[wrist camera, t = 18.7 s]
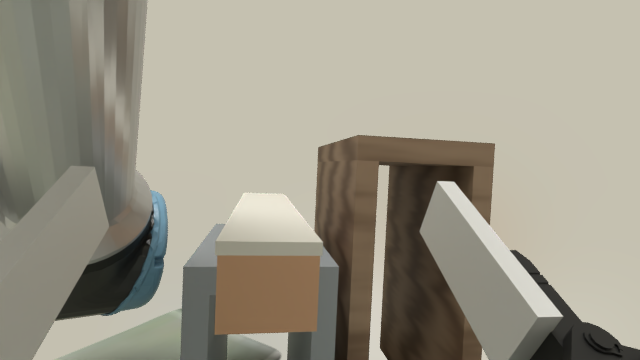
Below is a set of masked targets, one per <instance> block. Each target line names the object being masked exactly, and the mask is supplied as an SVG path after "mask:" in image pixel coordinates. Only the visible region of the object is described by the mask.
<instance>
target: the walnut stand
mask: <svg viewBox="0 0 640 360" xmlns="http://www.w3.org/2000/svg"><path fill="white" fill-rule="evenodd" d="M494 150H495V144H492V143H476V142H460V141H445V140H444V141H443V140H429V139H412V138H396V137H381V136H365V135H357V136H354V137H350V138H347V139H344V140H341V141H337V142H334V143H331V144H328V145H324V146H321V147H319V148H318V168H317V190H316V212H315V233H316V234H317V235H318V237H319V238H320V239H321V240H322V242H323V246H324V248H325V249H326V250H327V252H328V253H329V254H330V256H331V257H332V258H333V260H334V261H335V262H336V264H337V265H338V266H339V274H338V295H337V315H336V336H335V357H334V360H369V340H370V321H371V302H372V283H373V282H372V281H373V263H374V244H375V225H376V206H377V187H378V167H379V165H389V166H390V168H389V186H388V187H389V188H388V205H387V206H388V207H387V224H386V243H385V262H384V281H383V300H382V318H381V320H382V321H381V337H380V349H381V350H382V352H383V353H384V355H385V356H386V358H387V359H388V360H481V355H482V346H481V344H480V342H479V341H478V339H477V337H476V335H475V333H474V331H473V329H472V328H471V326H470V324H469V322H468V320H467V318H466V317H465V315H464V313H463V311H462V309H461V307H460V305H459V304H458V302H457V300H456V298H455V296H454V294H453V293H452V291H451V289H450V287H449V285H448V283H447V281H446V280H445V278H444V276H443V274H442V272H441V270H440V269H439V267H438V265H437V263H436V261H435V259H434V258H433V256H432V254H431V252H430V250H429V248H428V246H427V245H426V243H425V241H424V239H423V237H422V235H421V234H420V232H419V231H420V228H421V226H422V223H423V220H424V217H425V214H426V211H427V209H428V206H429V203H430V200H431V197H432V194H433V191H434V189H435V186H436V183H437V181H449V182H455V183H456V185H457V186H458V187H459V188H460V190H461V191H462V192H463V193H464V195H465V196H466V197H467V198H468V200H469V201H470V202H471V203H472V204H473V206H474V207H475V208H476V209H477V211H478V212H479V213H480V214H481V216H482V217H483V218H484V219H485V220H486V222H487V223H488V224H489V225H490V213H491V198H492V183H493V166H494Z"/></svg>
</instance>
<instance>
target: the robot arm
mask: <svg viewBox="0 0 640 360" xmlns="http://www.w3.org/2000/svg"><path fill="white" fill-rule="evenodd" d="M146 14H147V0H0V360H32V359H33V357H34V355H35V354H36V352H37V350H38V349H39V347H40V345H41V343H42V342H43V340H44V338H45V337H46V335H47V333H48V331H49V330H50V328H51V326H52V324H53V323H54V321H57V320H64V319H72V318H79V317H86V316H93V315H103V316H109V315H113V314H116V313H118V312H120V311H124V310H130V309H135V308H139V307H141V306H143V305H145V304H146V303H148V302H149V301H150V300H151V299H152V297H153V296H154V294H155V292H156V291H157V289H158V286H159V283H160V280H161V277H162V273H163V267H164V261H163V258H164V255H165V254H166V248H167V236H168V234H167V233H168V219H167V209H166V204H165V200H164V198H163V196H162V195H161V194H160V193H158V192H155V191H151V190H150V188H149V186H148V184H147V182H146V181H145V179H144V178H143V176H142V175H141V174H140V173H139V172H138V171H137V170H136V169H135V165H136V152H137V139H138V125H139V111H140V110H139V109H140V96H141V83H142V69H143V55H144V41H145V28H146V27H145V26H146ZM419 232H420V234H421V235H422V237H423V239H424V241H425V243H426V245H427V246H428V248H429V250H430V252H431V254H432V256H433V258H434V259H435V261H436V263H437V265H438V267H439V269H440V270H441V272H442V274H443V276H444V278H445V280H446V281H447V283H448V285H449V287H450V289H451V291H452V293H453V294H454V296H455V298H456V300H457V302H458V304H459V305H460V307H461V309H462V311H463V313H464V315H465V317H466V318H467V320H468V322H469V324H470V326H471V328H472V329H473V331H474V333H475V335H476V337H477V339H478V341H479V342H480V344H481V346H482V348H483V350H484V352H485V353H486V355H487V357H488V359H489V360H640V350H638V349H634V348H631V347H626V346H623V345H621V344H620V343H619V341H618V340H617V339H615V338H614V337H613V336H612V335H610V333H608V332H607V331H605V330H603V329H602V328H600V327H598V326H596V325H593V324H590V323H586V322H582V321H581V320H580V319H579V318H578V317H577V316H576V314H575V313H574V312H573V311H572V310H571V308H570V307H569V306H568V305H567V304H566V303H565V301H564V300H563V299H562V298H561V297H560V296H559V294H558V293H557V292H556V291H555V290H554V289H553V287H552V286H551V285H549V284H548V281H547V280H546V279H545V278H544V277H543V275H540V272H539V271H538V270H537V268H536V267H535V266H534V265H533V264H532V263H531V262H530V260H528V259H527V258H526V257H524V256H523V255H522V254H520V253H519V252H517V251H516V250H509V249H508V248H507V246H506V245H505V244H504V243H503V241H502V240H501V239H500V238H499V237H498V235H497V234H496V233H495V232H494V230H493V229H492V228H491V227H490V225H489V224H488V223H487V222H486V220H485V219H484V218H483V217H482V216H481V214H480V213H479V212H478V211H477V209H476V208H475V207H474V206H473V204H472V203H471V202H470V201H469V200H468V198H467V197H466V196H465V195H464V193H463V192H462V191H461V190H460V188H459V187H458V186H457V185H456V183H455V182H449V181H437V183H436V186H435V189H434V191H433V194H432V197H431V200H430V203H429V206H428V209H427V211H426V214H425V217H424V220H423V223H422V226H421V228H420V231H419Z"/></svg>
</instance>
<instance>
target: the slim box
mask: <svg viewBox="0 0 640 360" xmlns="http://www.w3.org/2000/svg"><path fill="white" fill-rule="evenodd" d="M215 255H217V279H216V306H215V334H214V335H222V334H250V333H251V334H253V333H284V332H315V331H317V315H318V293H319V272H320V256H322V255H323V242H322V240H321V239H320V238H319V237H318V235H317V234H316V233H315V232H314V230H313V229H312V228H311V227H310V225H309V224H308V223H307V222H306V220H305V219H304V218H303V217H302V215H301V214H300V213H299V212H298V211H297V209H296V208H295V207H294V206H293V204H292V203H291V202H290V201H289V199H288V198H287V197H286V196H285V194H267V193H244V194H243V195H242V197H241V199H240V200H239V202H238V204H237V205H236V207H235V209H234V211H233V212H232V214H231V216H230V217H229V219H228V221H227V222H226V224H225V226H224V228H223V229H222V231H221V233H220V234H219V236H218V238H217V239H216V241H215Z"/></svg>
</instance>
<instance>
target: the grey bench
mask: <svg viewBox="0 0 640 360" xmlns="http://www.w3.org/2000/svg"><path fill="white" fill-rule="evenodd" d="M224 226H225V224H216V225H215V226H214V227H213V229H212V230H211V231H210V233H209V234H208V235H207V237H206V238H205V239H204V241H203V242H202V243H201V245H200V246H199V247H198V248H197V250H196V251H195V253H194V254H193V255H192V256H191V258H190V259H189V260H188V261H187V263H186V264H185V265H184V267H183V295H182V326H181V356H180V360H227V335H228V334H222V335H214V334H215V306H216V279H217V255H215V241H216V239H217V238H218V236H219V234H220V233H221V231H222V229H223V228H224ZM338 274H339V266H338V265H337V264H336V262H335V261H334V260H333V258H332V257H331V256H330V254H329V253H328V252H327V250H326V249H325V248H324V246H323V255H322V256H320V272H319V293H318V315H317V331H315V332H288V356H287V360H334V357H335V336H336V315H337V295H338Z"/></svg>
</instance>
